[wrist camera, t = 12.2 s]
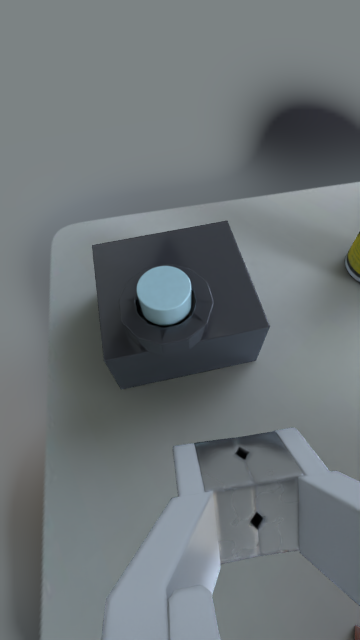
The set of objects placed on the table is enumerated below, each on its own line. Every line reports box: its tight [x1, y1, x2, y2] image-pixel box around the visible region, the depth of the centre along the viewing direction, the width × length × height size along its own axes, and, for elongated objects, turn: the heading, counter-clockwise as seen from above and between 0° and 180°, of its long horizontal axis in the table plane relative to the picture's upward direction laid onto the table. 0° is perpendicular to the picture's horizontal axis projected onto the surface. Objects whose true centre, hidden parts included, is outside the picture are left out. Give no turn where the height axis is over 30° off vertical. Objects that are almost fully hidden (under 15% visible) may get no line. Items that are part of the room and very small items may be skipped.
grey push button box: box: [92, 221, 270, 390], centre depth 28 cm, size 12×12×8 cm
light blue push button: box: [136, 266, 192, 326], centre depth 23 cm, size 4×4×2 cm
